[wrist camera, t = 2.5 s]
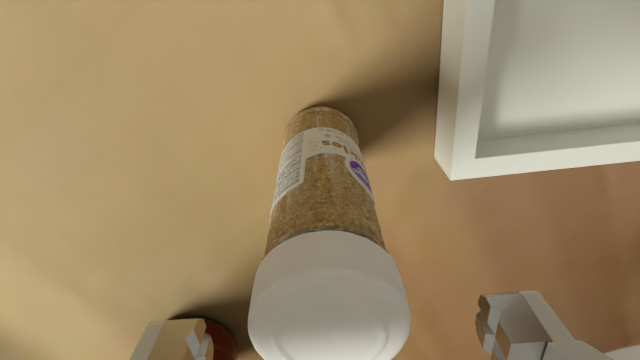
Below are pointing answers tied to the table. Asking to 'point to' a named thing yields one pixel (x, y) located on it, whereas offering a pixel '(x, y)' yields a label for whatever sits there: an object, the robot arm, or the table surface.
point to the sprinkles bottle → (326, 254)
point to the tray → (537, 85)
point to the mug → (220, 340)
